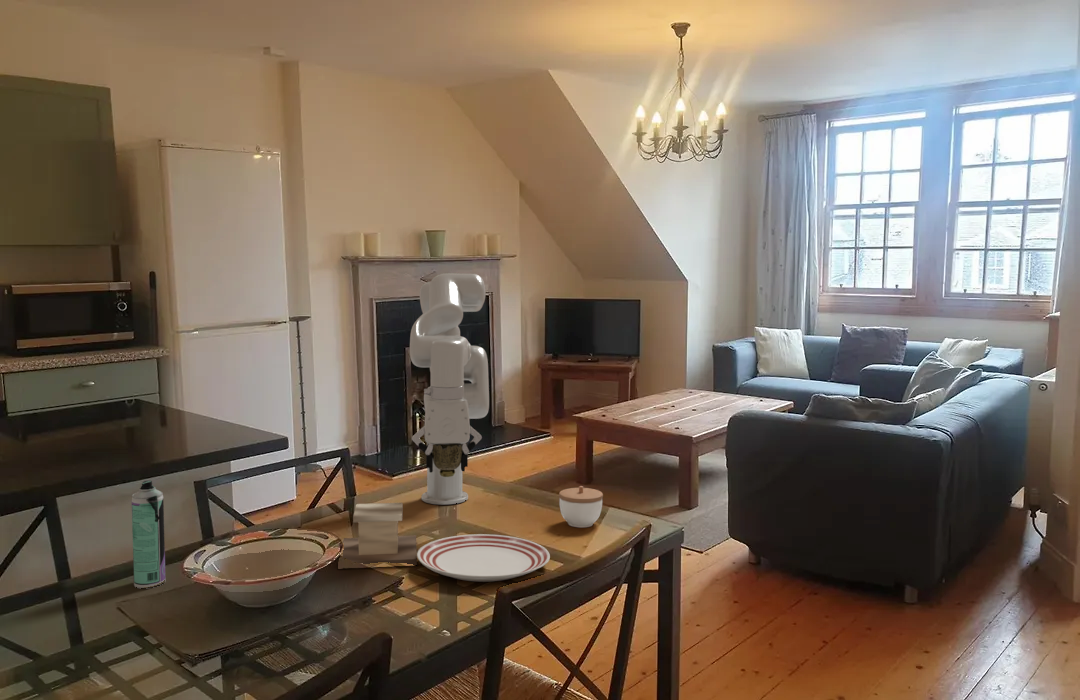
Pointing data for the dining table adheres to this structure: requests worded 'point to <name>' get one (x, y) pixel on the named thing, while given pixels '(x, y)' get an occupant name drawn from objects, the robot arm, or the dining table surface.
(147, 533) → the spray can
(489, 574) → the dinner plate
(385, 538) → the cream pedestal stand
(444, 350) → the robot arm
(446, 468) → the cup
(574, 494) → the lidded jar
